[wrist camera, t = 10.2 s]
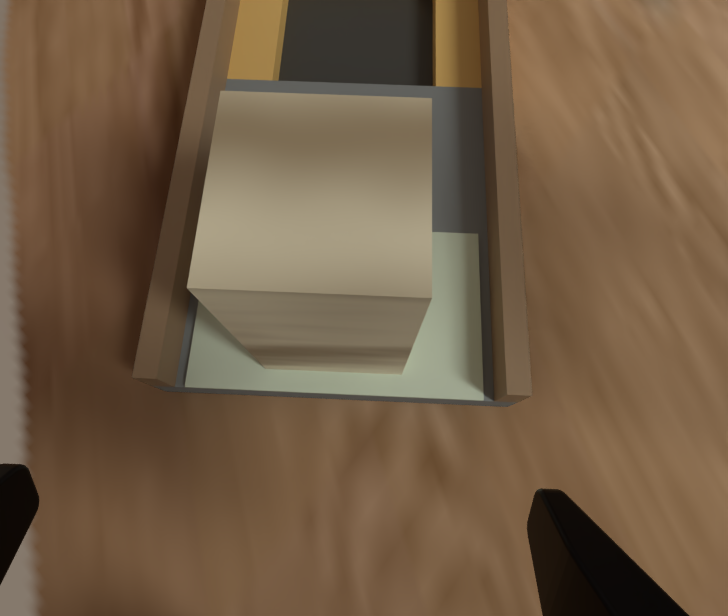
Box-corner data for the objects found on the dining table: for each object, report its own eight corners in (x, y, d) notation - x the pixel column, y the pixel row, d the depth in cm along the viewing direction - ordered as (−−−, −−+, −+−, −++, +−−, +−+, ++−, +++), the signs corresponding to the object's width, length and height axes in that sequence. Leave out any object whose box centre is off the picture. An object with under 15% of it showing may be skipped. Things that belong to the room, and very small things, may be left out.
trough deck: (507, 406, 22) (532, 395, 19) (165, 391, 23) (131, 377, 19) (486, -20, 31) (501, -78, 28) (238, -28, 31) (223, -87, 28)
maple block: (401, 374, 21) (432, 298, 12) (265, 369, 21) (186, 287, 12) (404, 250, 23) (431, 98, 14) (279, 245, 23) (220, 90, 14)
